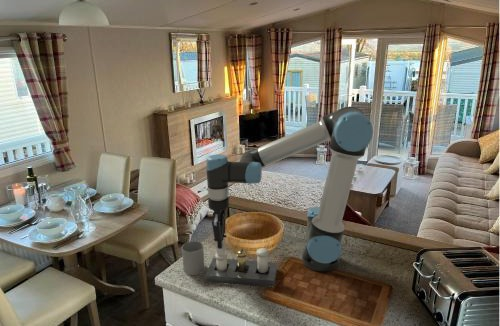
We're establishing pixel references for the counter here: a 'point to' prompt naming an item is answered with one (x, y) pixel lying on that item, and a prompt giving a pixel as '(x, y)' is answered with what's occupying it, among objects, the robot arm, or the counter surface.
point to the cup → (193, 257)
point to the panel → (242, 274)
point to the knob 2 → (262, 260)
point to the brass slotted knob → (241, 259)
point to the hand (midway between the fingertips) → (221, 254)
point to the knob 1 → (221, 262)
